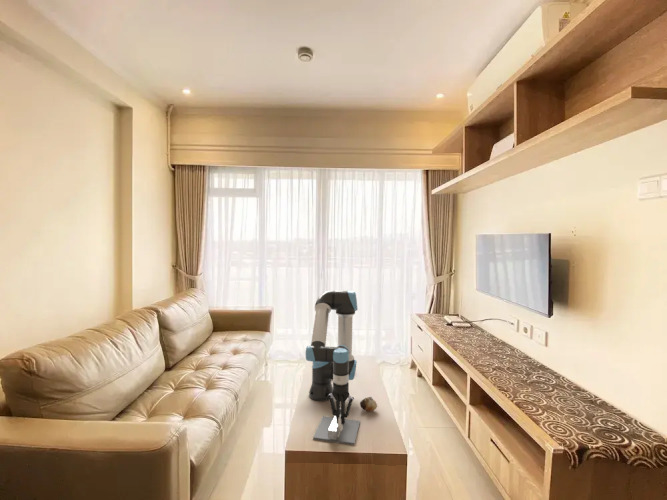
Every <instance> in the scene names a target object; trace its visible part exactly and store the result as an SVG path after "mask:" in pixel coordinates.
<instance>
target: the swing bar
mask: <svg viewBox="0 0 667 500" xmlns="http://www.w3.org/2000/svg"><path fill="white" fill-rule="evenodd" d="M340 413H341V405H340ZM340 415H341V414H340ZM333 417H334V418H333V420H332V423H331V425H330V427H329V429H328V439H334V440H336V439H337V437H338V434H339V431H338V424H337V423H336V416H335V415H333Z"/></svg>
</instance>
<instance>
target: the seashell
mask: <svg viewBox="0 0 667 500" xmlns="http://www.w3.org/2000/svg"><path fill="white" fill-rule="evenodd" d="M359 404H360V408H361V409H362V410H364V411H366V412H373V411H375V410H376V409H377V407H378V404H377V401H376V400H374V398H373V397H372V396H367V397H365V398H363V399H362V400H360V402H359Z"/></svg>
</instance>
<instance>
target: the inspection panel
mask: <svg viewBox="0 0 667 500" xmlns="http://www.w3.org/2000/svg"><path fill="white" fill-rule="evenodd" d="M333 418H334V416H326V415H322V417H321V420H320V422H319V424H318V425H317V428H316V431H315V432H314V435H313V437H312V440H315V441H321V442H322V441H323V442H328V443H336V444H342V445H351V446H355V445H356V442H357V436H358V433H359V428H360V425H361V420H356V419H351V418H345V422H344V424H343V429H342V431H341V432H339V434H338V437H337V439H336V440H334V439H328V429H329V427H330V425H331V423H332V420H333Z"/></svg>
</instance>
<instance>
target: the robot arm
mask: <svg viewBox="0 0 667 500" xmlns="http://www.w3.org/2000/svg"><path fill="white" fill-rule="evenodd" d="M357 300H358V299H357V293H356V291H354V290H348V289H347V290H344V289H343V290H342V289H340V290H339V289H338V290H333V289H331V290H330V289H329V290H326V291H324V292H323V293H322V294H320V296H319V297H318V298H317V299H316V301H315V304H314V312H315V314H314V323H313V328H312V329H313V330H312V334H311V335H312V336H311V343H310V345H307V346H306V348H305V360H306V361H308V362H312V366H311V368H312V369H311V370H312V371H311V373H312V374H311V385H310V388H309V390H308V397H309V398H310V399H312V400H314V401H317V402H323V401H324V402H325V401H329V404H330V409H331V413H332V416H336V423H337V424H338V431H339V432H341V431H342V429H343V424H344V422H345V419H348V416H349V414H350V411H351V407H352V404H353V402H354V400H355V398H354V396H351V395H350V391H349V381H353V380H354V379H355V376H356V371H357V362H358V361H357V360H356V359H355V356H354V355H353V319H354V318H353V316H354V315H355V314H356V312H357V311H358V310H359V309H358V301H357ZM331 310H333V311H335V314H336V315H337V318H338V319H337V320H338V321H337V322H338V323H337V346H326V345H327V336H328V335H327V334H328V326H329V325H328V323H329V314H331ZM346 401H348V402H347V406H346ZM340 406H341V413H340ZM340 414H341V415H340Z"/></svg>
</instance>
